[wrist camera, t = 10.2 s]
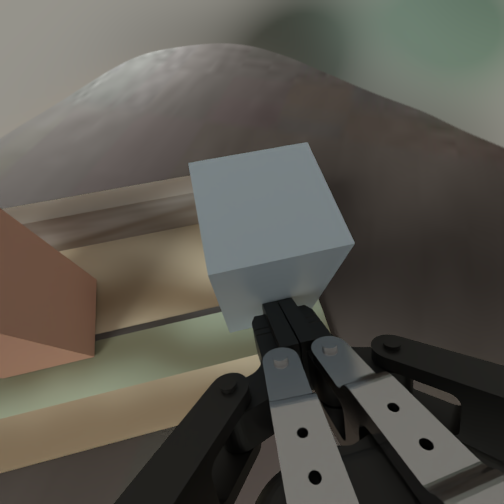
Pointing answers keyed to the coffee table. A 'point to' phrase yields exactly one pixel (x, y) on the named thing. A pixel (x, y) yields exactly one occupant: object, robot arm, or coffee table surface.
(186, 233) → the wooden tray
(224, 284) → the grey blue rectangular block
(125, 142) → the coffee table surface
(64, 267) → the reddish brown block
